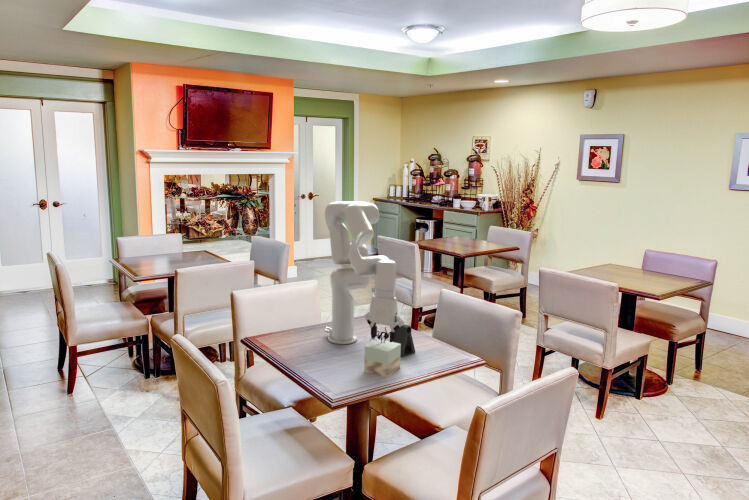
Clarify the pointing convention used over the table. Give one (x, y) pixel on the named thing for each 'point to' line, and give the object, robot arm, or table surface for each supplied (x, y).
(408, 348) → the phone stand
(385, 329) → the creature
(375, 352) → the tower top
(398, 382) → the table surface
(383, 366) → the tower base
